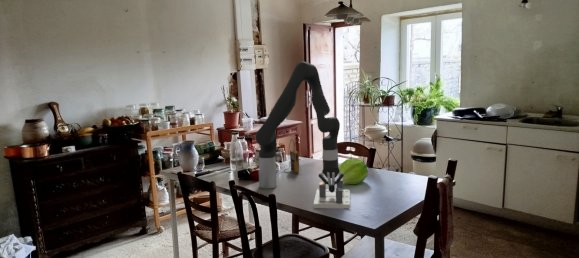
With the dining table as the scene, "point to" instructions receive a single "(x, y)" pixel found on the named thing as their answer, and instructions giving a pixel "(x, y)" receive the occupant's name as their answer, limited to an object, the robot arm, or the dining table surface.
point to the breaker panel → (332, 200)
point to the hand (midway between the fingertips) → (331, 192)
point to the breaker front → (338, 195)
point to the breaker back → (340, 184)
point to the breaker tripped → (322, 189)
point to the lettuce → (353, 171)
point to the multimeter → (294, 160)
